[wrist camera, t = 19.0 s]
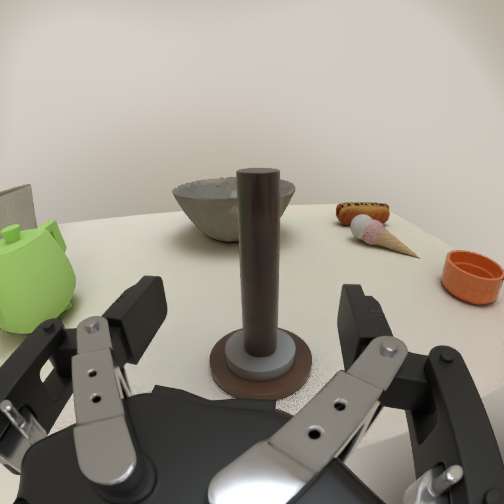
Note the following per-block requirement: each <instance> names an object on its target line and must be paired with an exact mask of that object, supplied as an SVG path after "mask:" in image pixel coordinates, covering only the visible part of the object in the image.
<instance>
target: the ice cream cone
mask: <svg viewBox="0 0 504 504" xmlns="http://www.w3.org/2000/svg"><path fill="white" fill-rule="evenodd" d="M350 228H351V232H352V234H353V235H354V236H355V237H356V238H358V239H362V240H364V241H365V242H366V243H367V244H369V245H380V246H383V247H386V248H389V249H392V250H395V251H399V252H402V253H405V254H408V255H411V256H414V257H417V258H419V257H418V256H417V255H416V254H415V253H413V252H412V251H411V250H410V249H409V248H408V247H407V246H405V245H404V244H403V243H402V242H401V241H399V240H398V239H397V238H396V237H395V236H393V235H392V234H391V233H390V232H389V231H387V230H386V229H385V228H384V226H383V224H382V223H381V222H379V221H378V220H372V218H371V217H369V216H368V215H365V214H361V215H357V216H356V217H354V218H353V220H352V222H351V225H350Z"/></svg>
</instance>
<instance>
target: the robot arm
mask: <svg viewBox="0 0 504 504" xmlns="http://www.w3.org/2000/svg"><path fill="white" fill-rule="evenodd" d="M166 315H167V302H166V297H165V292H164V287H163V281H162V279H161V277H159V276H143V277H142V279H141V280H140V281H139V282H138V283H137V284H136V285H134V286H132V287H130V288H128V289H127V290H125V291H124V292H123V293H122V294H121V296H120V297H119V298H118V299H117V300H116V301H115V302H114V303H113V304H112V305H111V306H110V307H109V309H108V310H107V311H106V312H105V313H104V314H103V315H102V316H101V317H100V316H94V317H90V318H87V319H85V320H83V321H82V322H81V323H80V324H79V325H78V326H77V328H74V329H65V328H64V325H63V323H62V321H61V320H60V319H57V318H52V319H48V320H45V321H43V322H42V323H40V324H39V325H38V326H37V327H36V328H35V329H34V331H33V332H32V333H31V334H30V335H29V336H28V337H27V338H26V339H25V340H24V341H23V342H22V343H21V345H20V346H19V347H18V348H17V349H16V350H15V351H14V352H13V353H12V355H11V356H10V357H9V358H8V359H7V360H6V361H5V363H4V364H3V365H2V366H1V367H0V463H1V464H2V465H4V466H5V467H6V468H7V469H8V470H9V471H11V472H12V473H13V474H16V475H20V485H19V490H18V494H17V498H16V500H15V502H14V503H13V504H386V503H385V502H384V501H383V500H381V499H380V498H379V497H378V496H377V495H376V494H375V493H374V492H373V491H372V490H371V489H370V488H368V486H366V485H365V484H364V483H363V482H362V481H361V480H360V479H359V478H358V477H357V476H356V475H355V474H354V473H353V472H352V471H351V470H350V469H349V468H348V467H347V466H346V465H345V463H346V461H347V460H348V459H349V458H350V456H351V455H352V454H353V452H354V450H355V449H356V448H357V446H358V445H359V443H360V442H361V440H362V439H363V437H364V436H365V435H366V433H367V432H368V430H369V429H370V428H371V426H372V425H373V423H374V422H375V420H376V419H377V417H378V416H379V414H380V413H381V411H382V410H383V408H384V407H391V408H397V409H403V410H405V413H406V418H407V423H408V429H409V434H410V440H411V446H412V453H413V459H414V467H415V475H416V482H414V483H413V484H412V485H411V486H410V487H409V488H408V489H407V491H406V492H405V494H404V497H403V504H504V465H503V461H502V458H501V454H500V451H499V447H498V445H497V441H496V438H495V435H494V432H493V429H492V427H491V424H490V421H489V418H488V416H487V413H486V410H485V408H484V405H483V403H482V400H481V398H480V395H479V393H478V391H477V388H476V386H475V384H474V381H473V379H472V377H471V375H470V372H469V370H468V368H467V366H466V364H465V362H464V360H463V358H462V356H461V354H460V353H459V352H458V351H457V350H455V349H453V348H451V347H449V346H436V347H434V348H432V349H431V351H430V353H429V355H428V356H426V355H420V354H415V353H411V352H408V349H407V347H406V345H405V344H404V343H403V342H402V341H401V340H399V339H397V338H395V337H393V334H392V332H391V330H390V327H389V325H388V322H387V320H386V318H385V315H384V313H383V311H382V308H381V306H380V304H379V302H378V301H377V300H376V299H374V298H373V297H372V296H365V295H364V292H363V290H362V287H361V285H360V284H343V286H342V290H341V298H340V304H339V311H338V319H337V327H338V333H339V339H340V345H341V350H342V356H343V362H344V368H345V371H344V370H340V371H338V372H337V373H336V374H335V375H334V376H333V377H332V379H331V380H330V381H329V382H328V383H327V384H326V385H325V386H324V387H323V388H322V389H321V390H320V391H319V392H318V393H317V394H316V395H315V396H314V397H313V398H312V399H311V400H310V401H309V402H308V403H307V404H306V405H305V406H304V407H303V408H302V409H301V410H300V411H299V412H298V413H297V414H296V415H295V416H293V415H291V414H289V413H287V412H284V411H282V410H278V409H275V408H276V400H267V399H253V398H237V399H226V400H208V399H205V398H202V397H199V396H197V395H194V394H192V393H189V392H187V391H184V390H181V389H175V388H169V387H164V386H159V385H155V387H154V389H153V391H152V393H142V394H137V395H133V394H132V391H131V387H130V384H129V381H128V377H127V373H126V370H125V368H124V365H125V364H126V363H130V364H135V365H137V363H138V362H139V360H140V358H141V357H142V355H143V354H144V352H145V350H146V349H147V347H148V345H149V344H150V342H151V341H152V339H153V337H154V336H155V334H156V333H157V331H158V329H159V328H160V326H161V325H162V323H163V322H164V320H165V318H166ZM48 359H49V360H50V362H51V364H52V365H53V367H54V369H53V370H52V371H51V373H50V374H49V376H48V377H47V378H46V380H45V381H44V382H43V383H42V381H41V379H40V370H41V368H42V367H43V365H44V364H45V363H46V362H47V360H48ZM72 393H73V395H74V406H75V416H76V423H75V424H73V425H71V426H69V427H67V428H65V429H62V430H60V431H58V432H56V433H54V434H51V435H49V436H47V435H48V433H49V432H50V430H51V428H52V426H53V425H54V423H55V421H56V420H57V418H58V416H59V415H60V413H61V411H62V410H63V408H64V406H65V405H66V403H67V401H68V400H69V398H70V397H71V395H72Z"/></svg>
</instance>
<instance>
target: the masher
mask: <svg viewBox="0 0 504 504" xmlns="http://www.w3.org/2000/svg"><path fill="white" fill-rule="evenodd" d="M236 175H237V205H238V231H239V255H240V278H241V300H242V320H243V329H242V330H240V331H238V332H236V333H234V334H233V335H232V336H231V337H230V338H229V339H228V341H227V343H226V346H225V354H226V361H227V364H228V366H229V368H230V369H231V370H232V371H233V372H234V373H235V374H236V375H238V376H240V377H242V378H245V379H248V380H252V381H268V380H272V379H276V378H278V377H280V376H282V375H284V374H285V373H287V372H288V371H289V370H290V369H291V367H292V366H293V364H294V360H295V350H296V347H295V343H294V341H293V339H292V338H291V337H290V336H289V335H288V334H287V333H285V332H284V331H282V330H280V329H278V297H279V249H280V171H279V170H277V169H272V168H248V169H241V170H238V171H237V172H236Z"/></svg>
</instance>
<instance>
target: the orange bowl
mask: <svg viewBox="0 0 504 504" xmlns="http://www.w3.org/2000/svg"><path fill="white" fill-rule="evenodd" d="M441 280H442V283H443V285H444V286H445V287H446V289H447V290H448V291H449V292H450V293H451V294H452V295H454V296H455V297H457V298H458V299H460V300H463V301H465V302H468V303H472V304H477V305H484V304H488V303H491V302H494V301H495V300H496V299H497V297H498V295H499V292H500V289H501V286H502V283H503V280H504V270H503V269H502V267H501V266H500V265H499V264H497V263H496V262H495V261H493V260H491V259H490V258H488V257H485V256H483V255H481V254H477V253H474V252H470V251H462V250H461V251H460V250H456V251H451V252H449V253H448V254H447V256H446V260H445V265H444V269H443V273H442V277H441Z"/></svg>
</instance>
